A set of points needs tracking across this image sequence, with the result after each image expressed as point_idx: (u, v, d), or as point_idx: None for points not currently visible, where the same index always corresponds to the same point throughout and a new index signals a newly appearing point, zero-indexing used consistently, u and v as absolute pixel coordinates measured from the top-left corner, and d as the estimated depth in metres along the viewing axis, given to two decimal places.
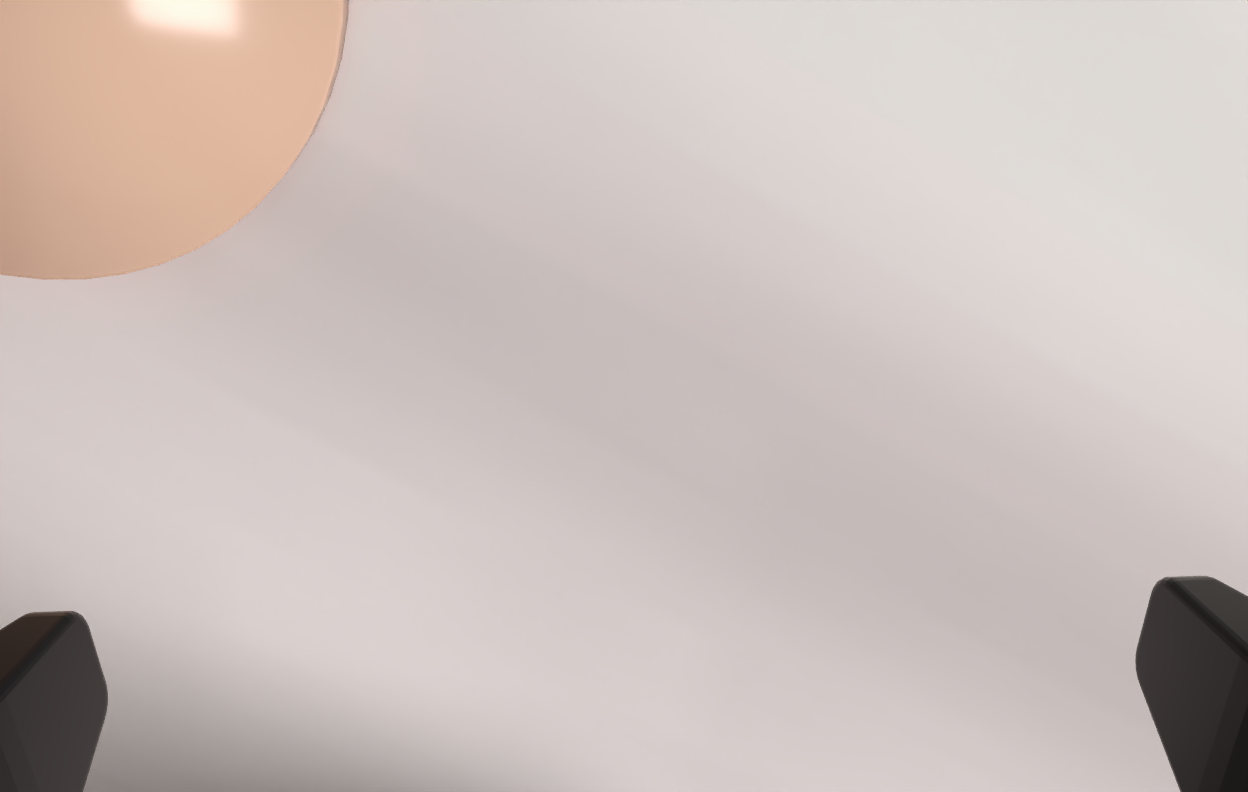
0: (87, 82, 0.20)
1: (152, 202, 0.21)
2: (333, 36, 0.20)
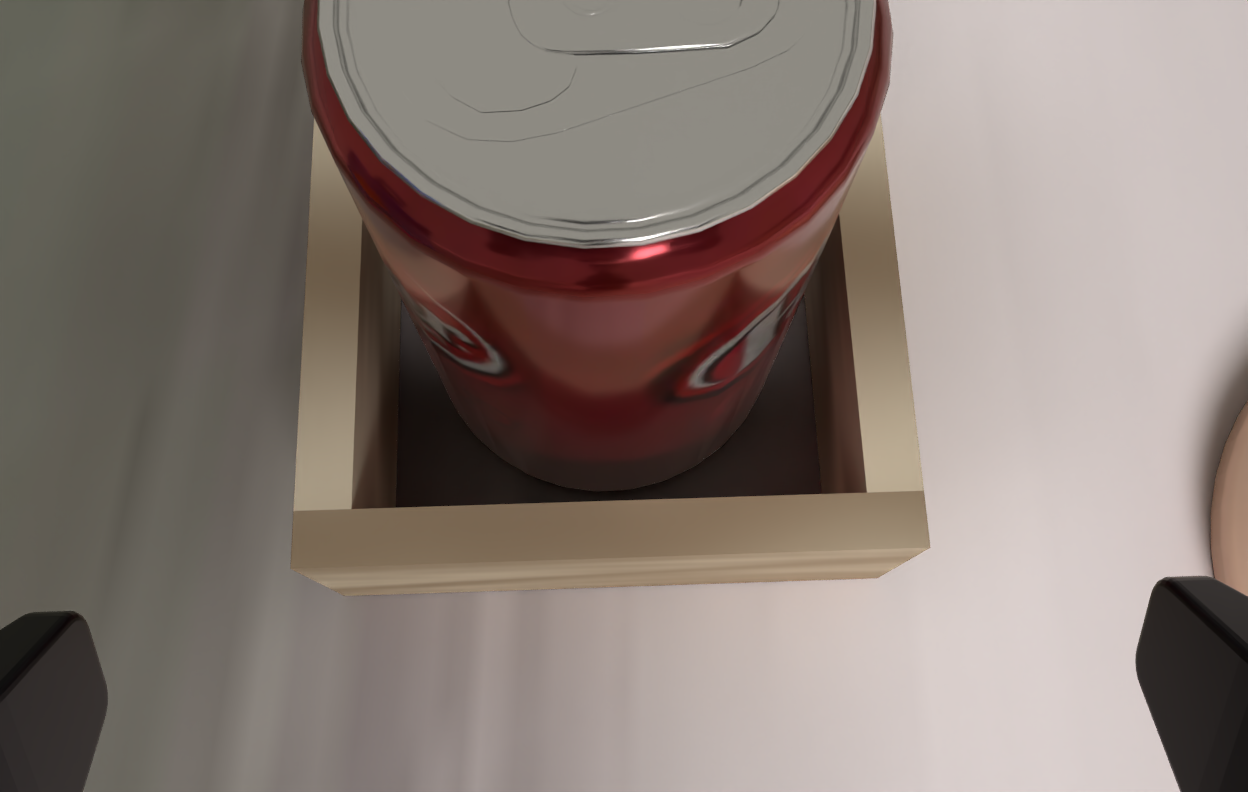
0: None
1: None
2: None
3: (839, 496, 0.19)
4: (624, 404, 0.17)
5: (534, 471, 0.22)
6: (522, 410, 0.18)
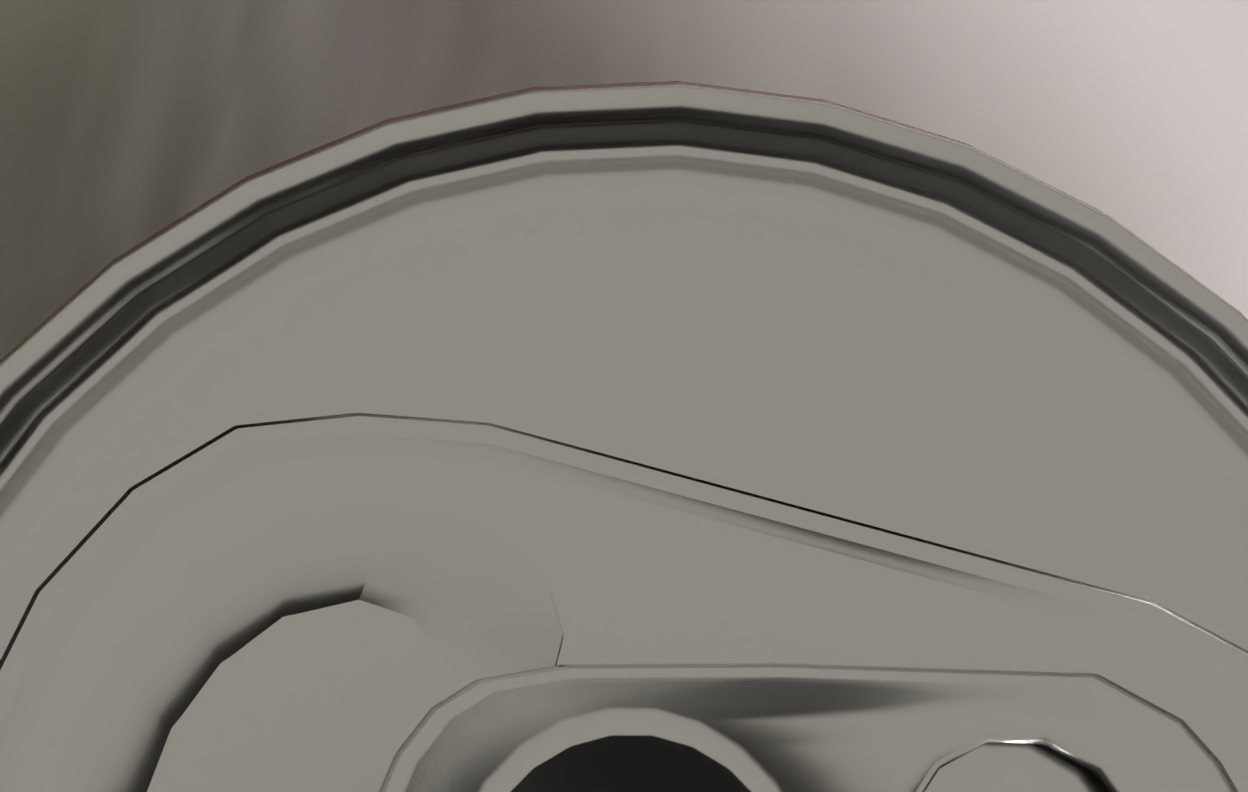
0: None
1: None
2: None
3: None
4: None
5: None
6: None
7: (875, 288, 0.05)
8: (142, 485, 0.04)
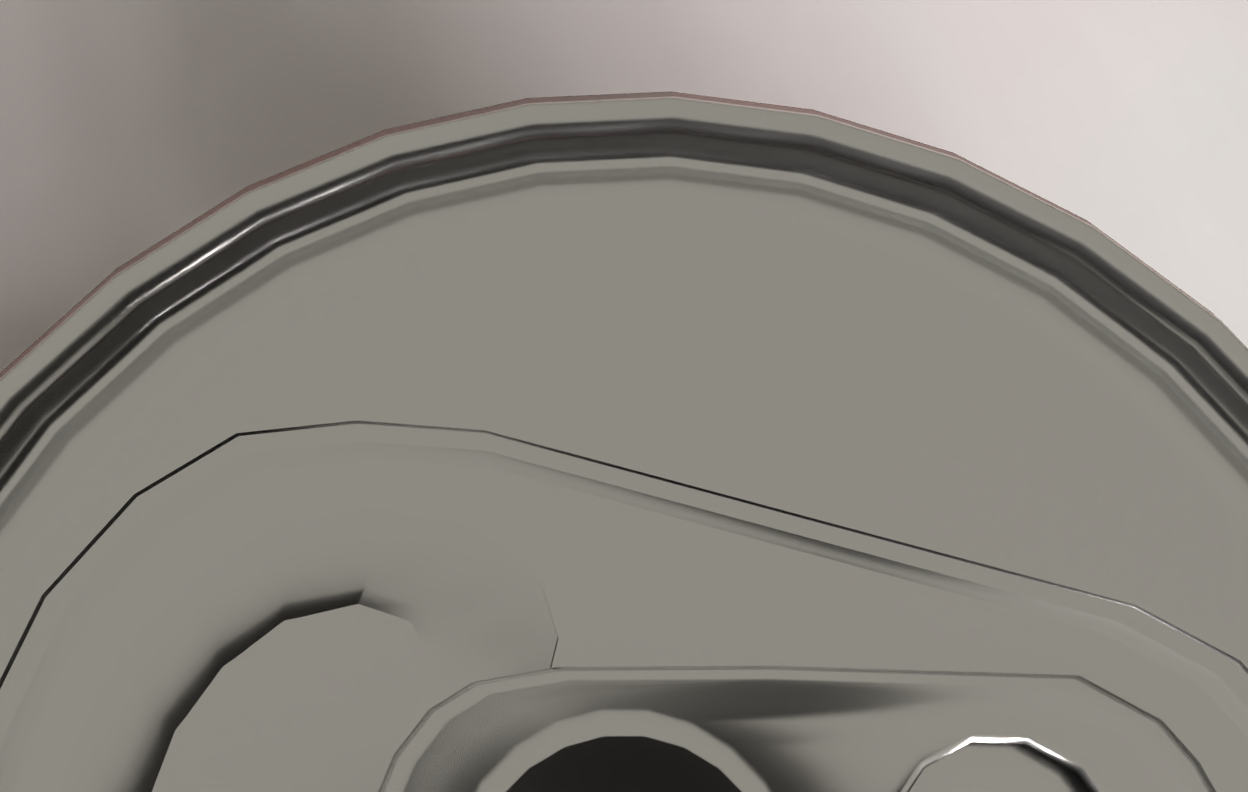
0: None
1: None
2: None
3: None
4: None
5: None
6: None
7: (865, 299, 0.05)
8: (144, 493, 0.04)
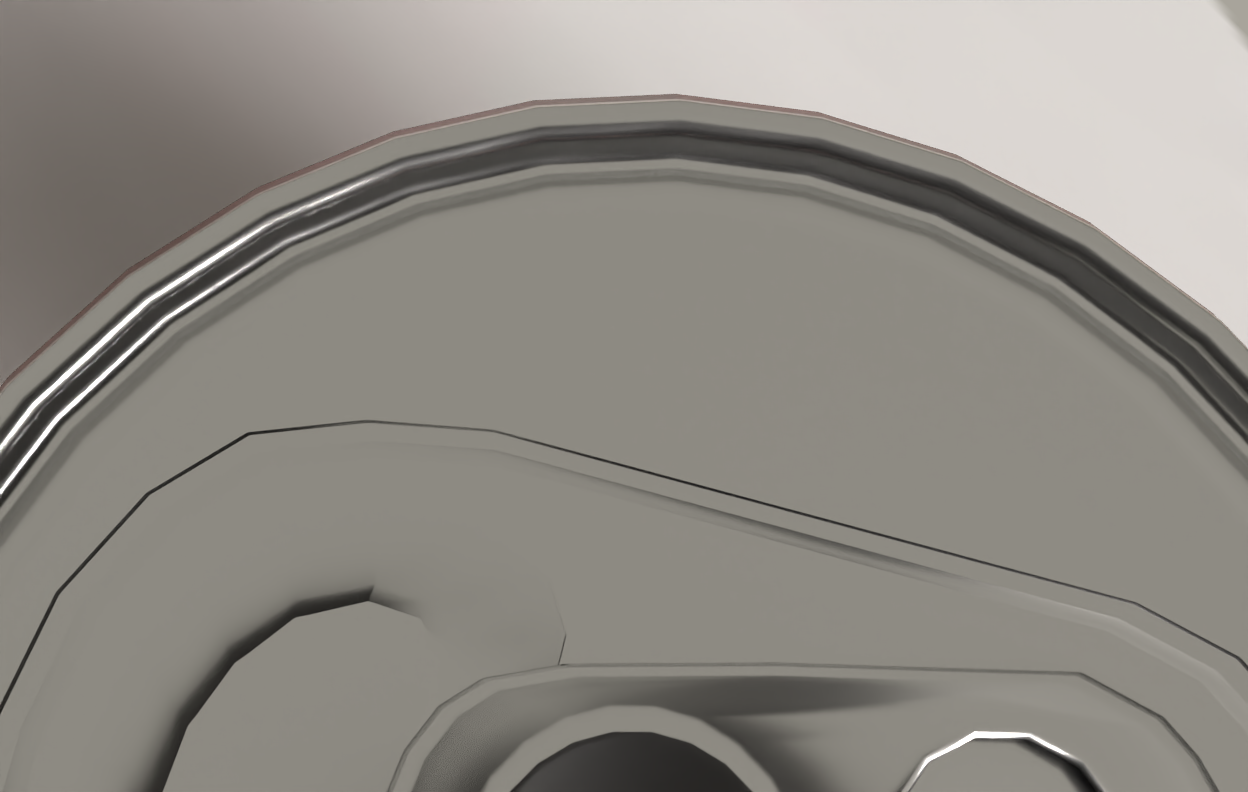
0: None
1: None
2: None
3: None
4: None
5: None
6: None
7: (868, 300, 0.05)
8: (157, 492, 0.04)
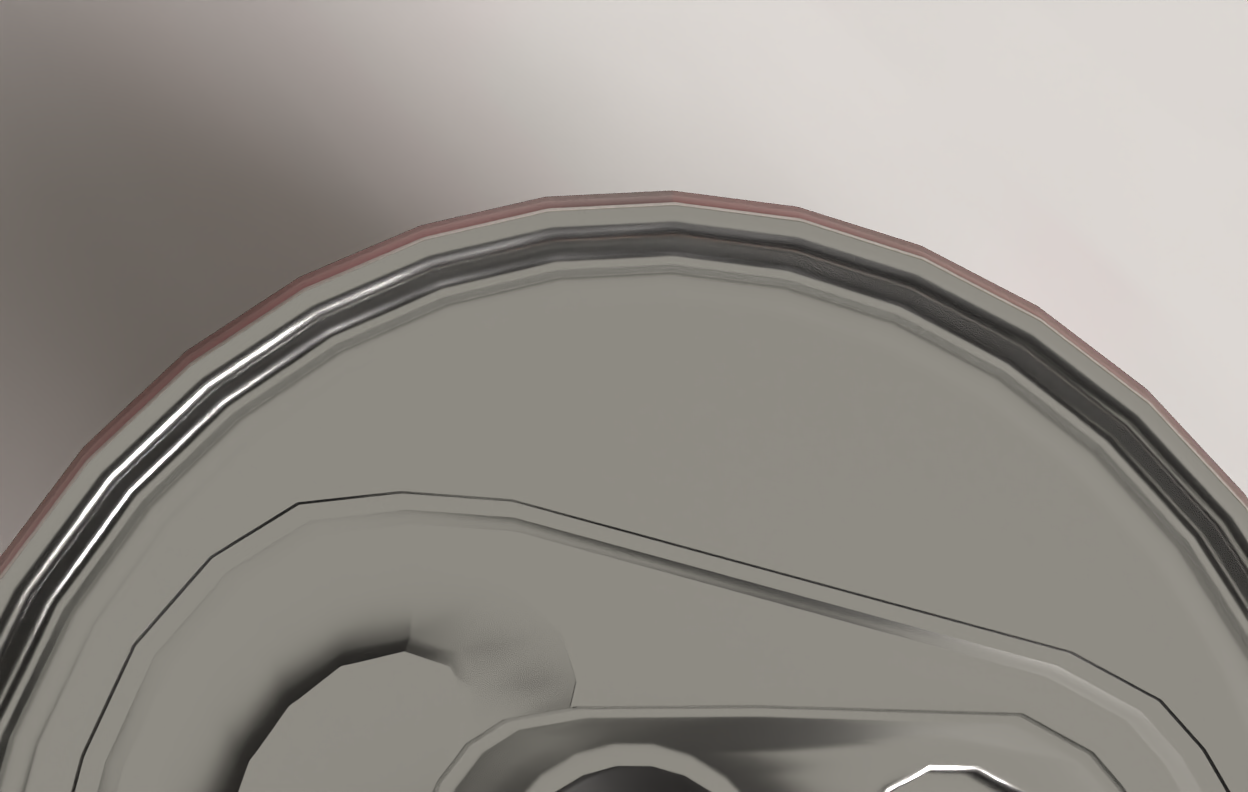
0: None
1: None
2: None
3: None
4: None
5: None
6: None
7: (840, 381, 0.05)
8: (221, 553, 0.05)
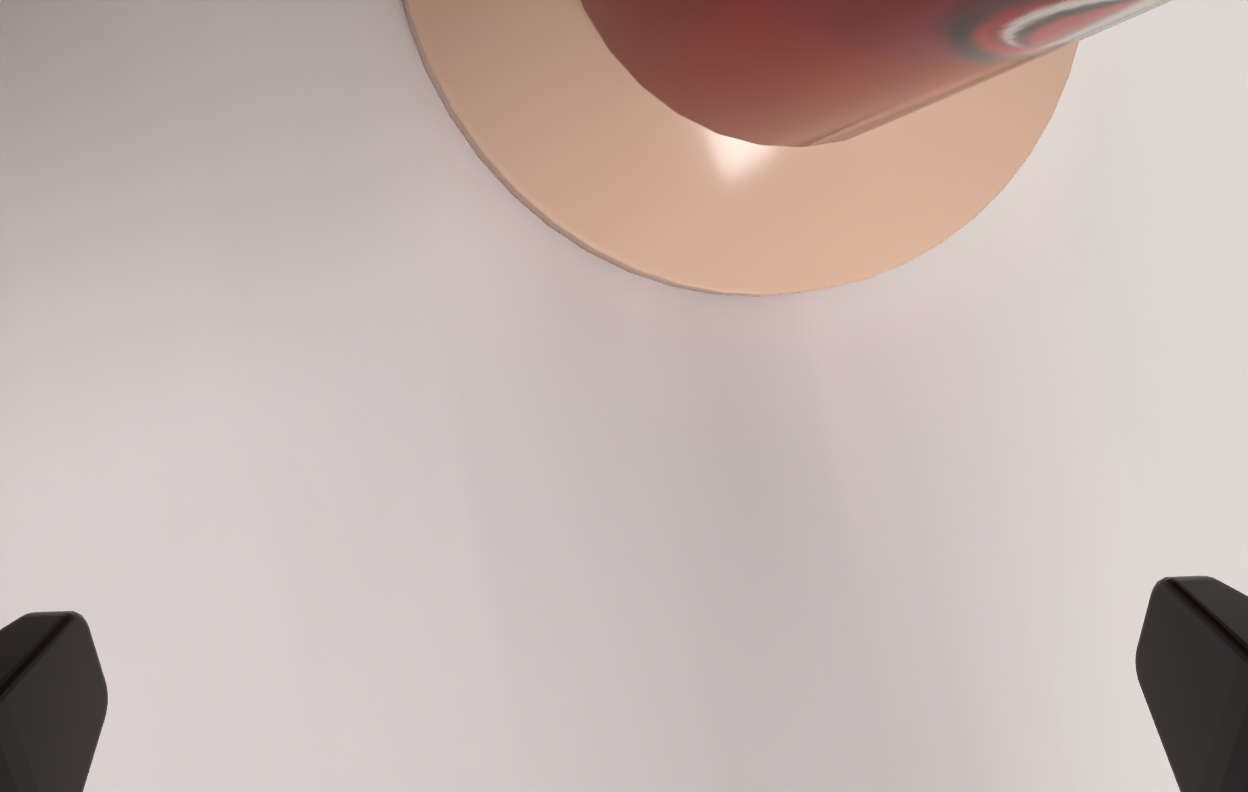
0: None
1: (660, 197, 0.18)
2: (930, 246, 0.19)
3: None
4: (907, 1, 0.11)
5: (626, 46, 0.16)
6: None
7: None
8: None
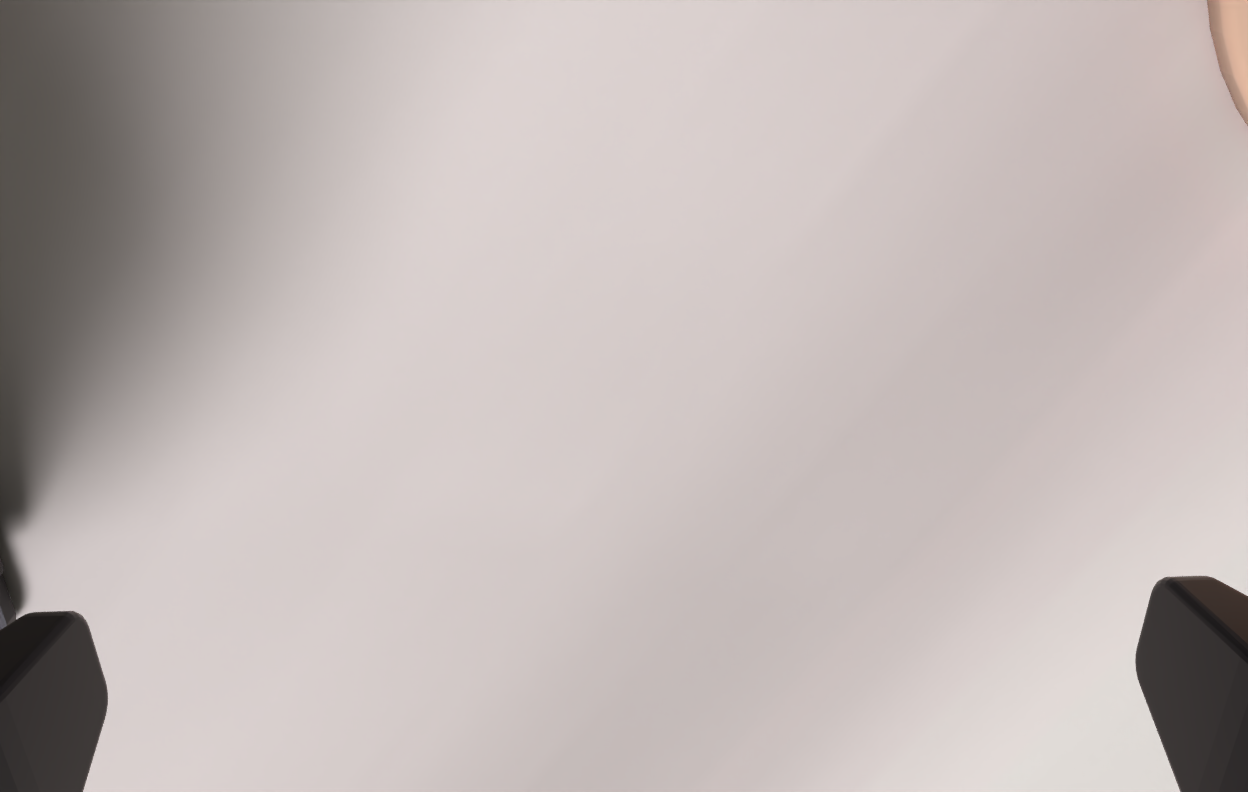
0: None
1: None
2: None
3: None
4: None
5: None
6: None
7: None
8: None
